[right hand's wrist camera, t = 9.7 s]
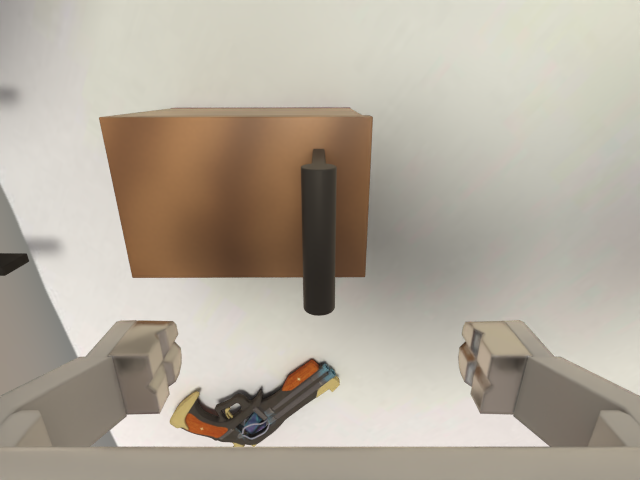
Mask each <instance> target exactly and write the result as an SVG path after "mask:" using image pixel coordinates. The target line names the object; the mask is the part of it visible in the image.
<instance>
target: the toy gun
mask: <svg viewBox="0 0 640 480" xmlns="http://www.w3.org/2000/svg"><path fill="white" fill-rule="evenodd" d="M339 385H340V384H339V378H338V377H337V376H336V374H335V372H334V370H333V369H329V367H328V365H327V364H321V365H318V364H317V363H316V362H315V361H314V360H310V361H309V362H307V363H306V364H305V365H303V366H302V367H300V368H299V369H297V370H296V371H295V372H293V373H292V374H290V375H289V376H288V377H287V379H286V381H285V383H284V385H283V387H282V388H281V389H280V390H279V391H277V392H276V393H275V394H273V395H272V396H270V397H268V398H265V399H262V396H263V394H262V389H261V390H260V391H259V393H258V394H257V396H256V397H255V398H254V399H253V400H249V399H248V398H247V397H246V396H245V395H242V394H236V395H235V396H234V397H232V398H231V399H229V400H227V401H225V402H222V403H219V404H217V405H216V407H215V411H216V412H217V414H218V415H219V417H218V416H215V415H213V414H210V413H208V412H206V411H204V410H203V409H202V407H201V406H200V405H199V403H198V401H197V398H198V396H199V394H200V393H199V392H197V391H196V392H194V393H192V394H191V395H190V396H188V397H187V398H186V399H185V400H183V401H182V402H181V403H180V404H179V406H178V407H177V408H176V410H175V412H174V414H173V415H172V417H171V419H170V424H171V425H173V426H174V427H176V428H182V429H184V430H186V431H188V432H191V433H194V434H197V435H202V436H206V437H210V438H212V439H214V440H216V441H217V440H218V441H221V442H232V443H233V444H234V446H233V447H244V446H245V444H246V445H252V446H253V447H255V446H256V444H258V443H259V442H261V441H262V440H264V439H265V438H266V437H268V436H269V435H270V434H272V433H273V432H274V431H275V430H276V429H277V428H278V427H279V426H280V425H281V424H282V423H283V422H284V421H285V420H286V419H287V418H288V417H289V416H291V415H292V414H293V413H295V412H296V411H298V410H299V409H300V408H302V407H303V406H304V405H306V404H307V403H309V402H310V401H312V400H313V399H315V398H317V397H318V396H320V395H321V394H322V393H324V392H325V391H327V390H328V389H330V390H331V391H332V392H333V391H334V390H335V389H336V388H337V387H338V386H339ZM235 403H239V404H240V405H241V408H242V409H240V410H239V411H238V412H236V413H235V414H234V415H232V414H231V413H230V412H229V409H230V406H232V405H234V404H235ZM223 409H225V413H226V415H225V414H224V413H223V411H222V410H223ZM227 413H228V414H229V415H230V416H229V415H228V414H227ZM249 416H250V417H249ZM247 417H249V418H248V420H247V422H246V423H245V420H246V418H247ZM267 418H268V419H267ZM242 421H244V426H242V425H241V424H240V423H241V422H242ZM266 421H268V422H269V424H268V425H267V426H266ZM265 426H266V427H265ZM261 429H262V430H261ZM259 430H260V431H259Z"/></svg>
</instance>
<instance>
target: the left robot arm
mask: <svg viewBox="0 0 640 480" xmlns="http://www.w3.org/2000/svg"><path fill="white" fill-rule="evenodd" d="M27 262H29V259H28V256H27V254H4V253H3V254H2V253H0V276H5V275H7V274H9V273H10V272H12V271H14V270H15V269H17V268H19V267H20V266H22V265H24V264H26V263H27Z"/></svg>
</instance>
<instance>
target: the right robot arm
mask: <svg viewBox="0 0 640 480" xmlns="http://www.w3.org/2000/svg"><path fill="white" fill-rule="evenodd" d="M177 336H178V331H177V326H176V324H175V323H174V322H173V321H136V320H129V321H118V322H116V323H115V324H114V325H113V326H112V327H111V329H110V330H109V331H108V332H107V333H106V334H105V335H104V336H103V338H102V339H101V340H100V341H99V342H98V343H97V344H96V345H95V347H94V348H93V349H92V350H91V351H90V352H89V353H88V354H87V356H86V357H78V358H76V359H74V360H72V361H70V362H68V363H66V364H64V365H62V366H60V367H58V368H56V369H54V370H52V371H50V372H48V373H46V374H44V375H42V376H40V377H38V378H36V379H34V380H32V381H29V382H27V383H25V384H23V385H21V386H19V387H17V388H15V389H13V390H11V391H9V392H7V393H5V394H3V395H1V396H0V480H640V396H639V395H637V394H635V393H633V392H631V391H629V390H627V389H625V388H623V387H621V386H619V385H617V384H614V383H612V382H610V381H608V380H606V379H604V378H602V377H600V376H598V375H596V374H594V373H592V372H590V371H588V370H586V369H584V368H582V367H580V366H578V365H576V364H574V363H572V362H570V361H568V360H566V359H564V358H562V357H554V356H553V354H552V353H551V352H550V351H549V350H548V349H547V348H546V347H545V345H544V344H543V343H542V342H541V341H540V340H539V339H538V338H537V336H536V335H535V334H534V333H533V332H532V331H531V330H530V329H529V327H528V326H527V325H526V324H525V323H524V322H522V321H520V320H512V321H482V322H465V324H464V326H463V330H462V336H463V337H464V339H465V341H466V342H465V343H464V344H463V345H462V346H461V347H460V348H459V355H458V361H459V369H460V373H461V376H462V378H463V380H464V382H466V383H467V384H468V385H470V386H471V387H472V389H471V396H472V398H473V400H474V402H475V404H476V406H477V408H478V410H479V412H480V414H514V415H513V416H514V417H515V418H516V419H518V420H519V421H520V422H521V423H522V424H524V425H525V426H526V427H527V428H528V429H530V430H531V431H532V432H533V433H534V434H536V435H537V436H538V437H539V438H540V439H542V440H543V441H544V442H545V443H546V444H548V445H549V446H550V447H90V446H91V445H92V444H94V443H95V442H96V441H97V440H98V439H100V438H101V437H102V436H103V435H104V434H106V433H107V432H108V431H109V430H111V429H112V428H113V427H114V426H115V425H117V424H118V423H119V422H120V421H121V420H123V419H124V418H125V417H126V416H127V415H126V414H160V412H161V410H162V408H163V406H164V404H165V402H166V400H167V398H168V396H169V389H168V387H169V386H170V385H172V384H173V383H174V382H176V380H177V378H178V375H179V373H180V368H181V364H182V354H181V348H180V347H179V346H178V345H177V344H176V343H175V342H174V341H175V339H176V337H177Z"/></svg>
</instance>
